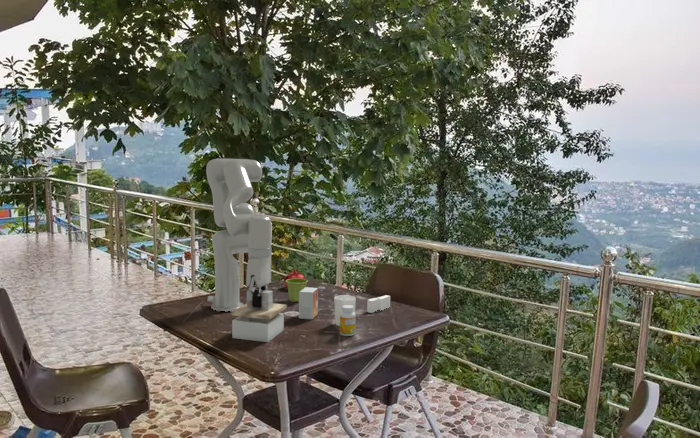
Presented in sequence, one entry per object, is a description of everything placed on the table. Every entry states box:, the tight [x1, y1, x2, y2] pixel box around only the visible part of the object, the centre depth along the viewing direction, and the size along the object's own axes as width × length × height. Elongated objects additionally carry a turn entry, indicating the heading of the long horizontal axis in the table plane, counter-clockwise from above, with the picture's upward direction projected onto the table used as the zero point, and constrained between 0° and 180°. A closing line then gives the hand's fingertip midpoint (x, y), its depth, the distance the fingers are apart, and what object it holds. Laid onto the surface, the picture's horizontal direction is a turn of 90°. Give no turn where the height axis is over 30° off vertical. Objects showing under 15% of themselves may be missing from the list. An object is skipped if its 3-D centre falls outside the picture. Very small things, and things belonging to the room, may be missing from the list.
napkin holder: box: [366, 294, 391, 314], centre depth 208 cm, size 15×11×6 cm
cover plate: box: [230, 289, 288, 319], centre depth 175 cm, size 14×14×7 cm
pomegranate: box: [283, 268, 306, 289], centre depth 241 cm, size 10×10×9 cm
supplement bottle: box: [339, 305, 357, 337], centre depth 177 cm, size 5×5×10 cm
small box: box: [298, 286, 319, 320], centre depth 197 cm, size 8×6×10 cm
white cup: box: [333, 294, 357, 327], centre depth 188 cm, size 8×8×10 cm
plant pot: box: [286, 278, 309, 303], centre depth 219 cm, size 9×9×9 cm
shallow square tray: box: [231, 312, 285, 343], centre depth 175 cm, size 13×13×6 cm
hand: (259, 305), depth 175 cm, fingers closed on cover plate, 3 cm apart
